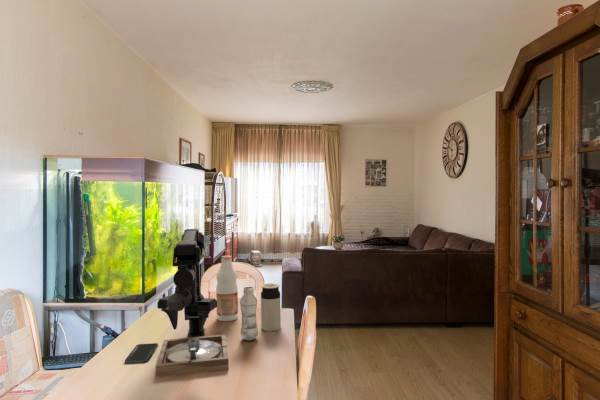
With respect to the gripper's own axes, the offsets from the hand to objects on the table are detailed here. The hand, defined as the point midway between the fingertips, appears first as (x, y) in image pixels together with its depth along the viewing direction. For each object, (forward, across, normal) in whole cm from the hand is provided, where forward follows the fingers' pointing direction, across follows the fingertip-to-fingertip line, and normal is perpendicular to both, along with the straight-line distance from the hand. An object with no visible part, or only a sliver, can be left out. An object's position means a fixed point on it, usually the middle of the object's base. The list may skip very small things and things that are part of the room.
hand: (187, 330), depth 127 cm
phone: (+12, -22, +6) cm, 26 cm away
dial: (+10, -2, +7) cm, 13 cm away
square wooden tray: (+12, -2, +7) cm, 14 cm away
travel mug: (+12, +14, +41) cm, 45 cm away
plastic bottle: (+12, +10, +28) cm, 32 cm away
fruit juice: (+11, -10, +49) cm, 51 cm away
